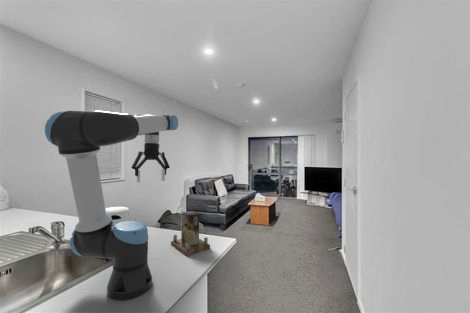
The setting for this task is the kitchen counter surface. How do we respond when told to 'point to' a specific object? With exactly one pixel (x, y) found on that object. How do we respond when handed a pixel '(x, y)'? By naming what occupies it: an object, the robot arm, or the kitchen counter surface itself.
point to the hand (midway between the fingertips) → (151, 181)
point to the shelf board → (190, 246)
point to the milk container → (118, 214)
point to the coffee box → (189, 228)
